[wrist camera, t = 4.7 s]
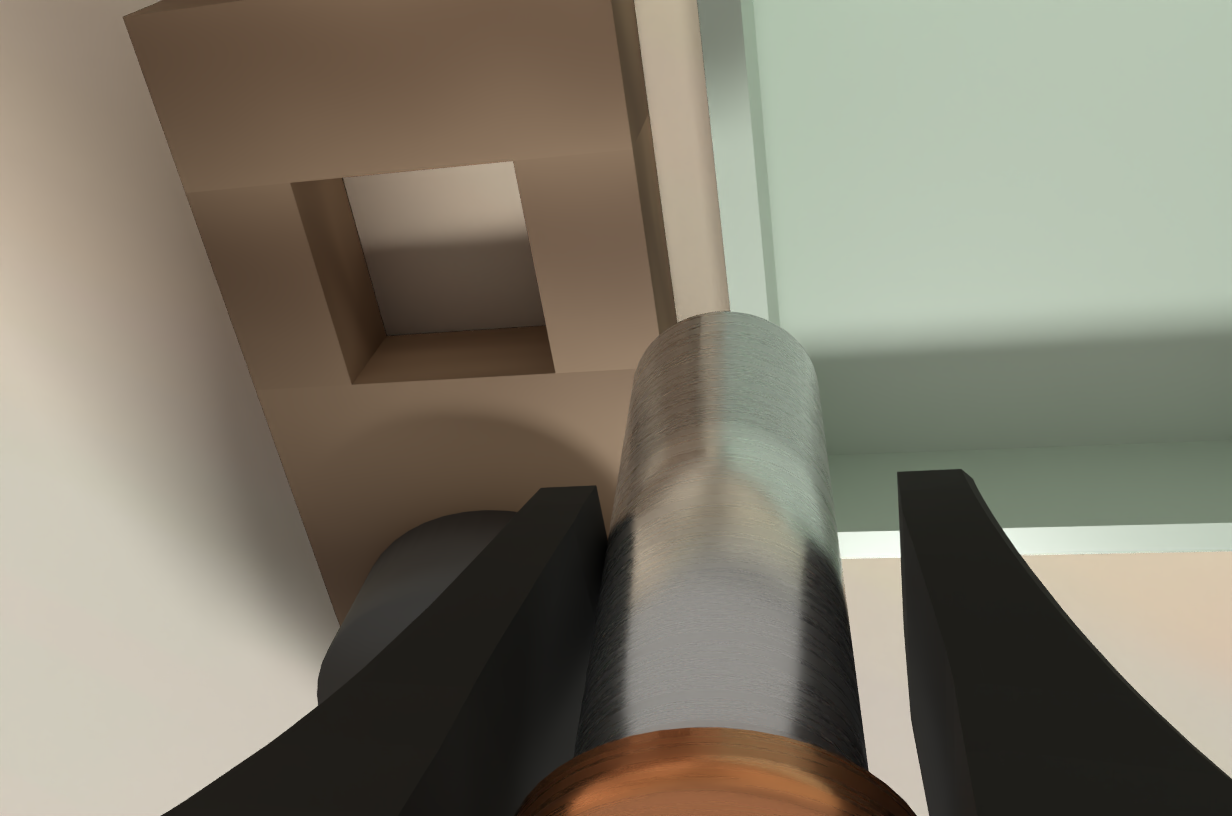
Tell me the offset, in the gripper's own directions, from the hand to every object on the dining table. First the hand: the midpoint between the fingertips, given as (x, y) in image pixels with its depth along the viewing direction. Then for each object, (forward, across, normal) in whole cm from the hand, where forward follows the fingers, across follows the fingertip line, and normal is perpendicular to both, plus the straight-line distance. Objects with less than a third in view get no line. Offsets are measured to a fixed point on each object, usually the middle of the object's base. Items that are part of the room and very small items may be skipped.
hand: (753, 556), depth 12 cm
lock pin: (+3, 0, 0) cm, 3 cm away
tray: (+10, -5, 0) cm, 11 cm away
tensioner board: (+10, +6, +4) cm, 13 cm away
